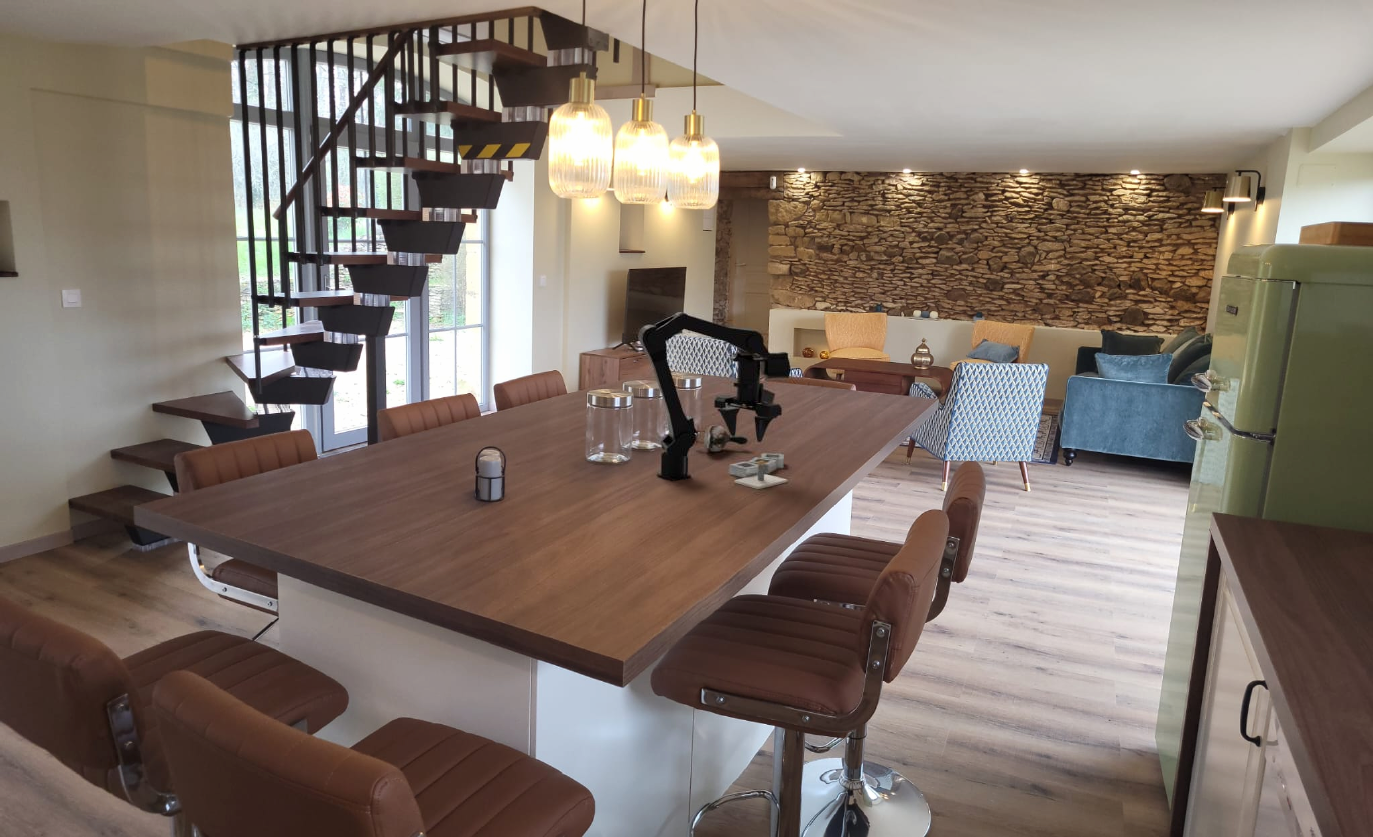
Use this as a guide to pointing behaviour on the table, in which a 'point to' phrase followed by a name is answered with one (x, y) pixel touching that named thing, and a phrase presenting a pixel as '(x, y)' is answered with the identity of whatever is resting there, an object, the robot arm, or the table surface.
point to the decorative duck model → (718, 438)
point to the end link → (743, 469)
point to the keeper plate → (761, 483)
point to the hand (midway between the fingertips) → (746, 438)
